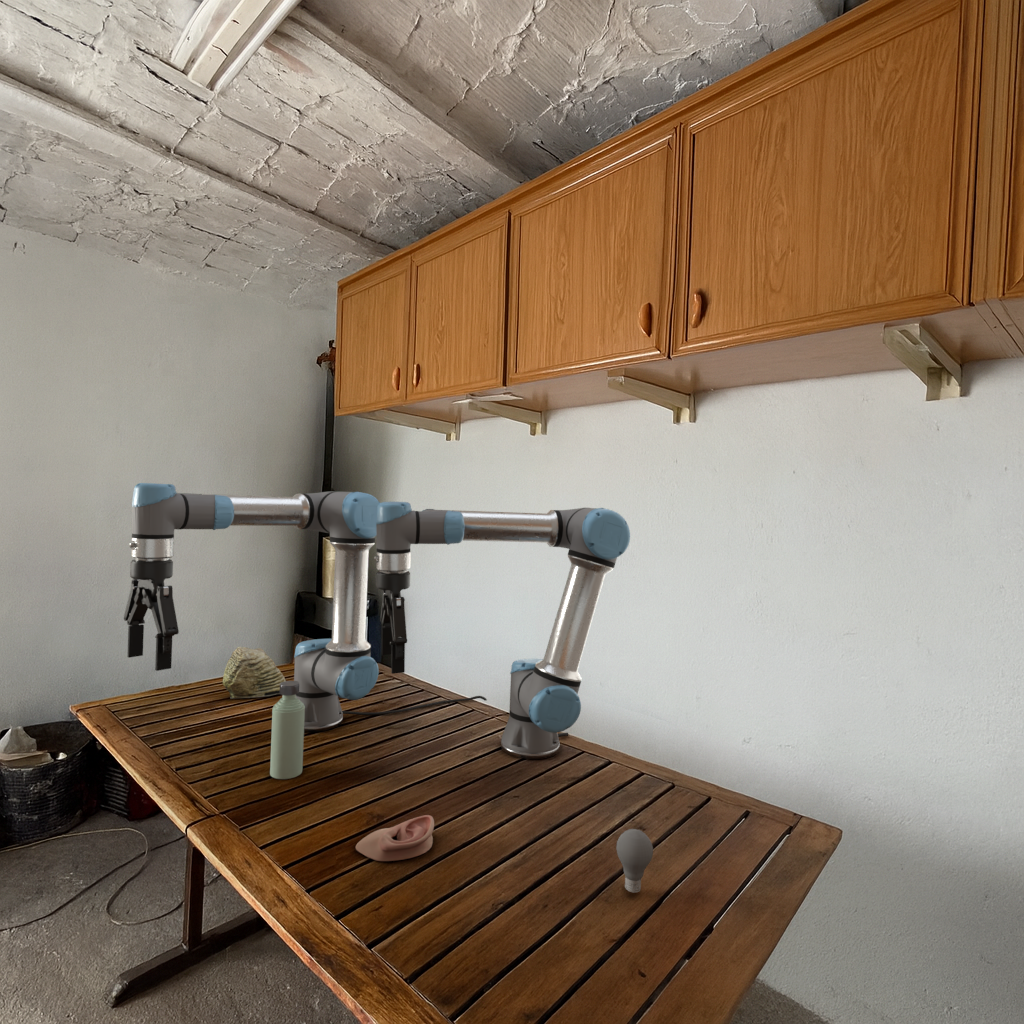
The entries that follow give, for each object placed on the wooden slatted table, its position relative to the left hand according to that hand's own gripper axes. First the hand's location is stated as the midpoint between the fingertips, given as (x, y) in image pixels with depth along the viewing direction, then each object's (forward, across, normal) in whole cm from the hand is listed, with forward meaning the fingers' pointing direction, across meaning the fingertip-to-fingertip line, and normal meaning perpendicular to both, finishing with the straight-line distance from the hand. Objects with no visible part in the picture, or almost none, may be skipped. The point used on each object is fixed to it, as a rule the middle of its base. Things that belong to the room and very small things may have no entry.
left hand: (148, 662), depth 129 cm
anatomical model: (+28, +51, +23) cm, 62 cm away
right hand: (+2, +28, +41) cm, 49 cm away
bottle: (+28, +9, +26) cm, 40 cm away
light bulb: (+28, +90, +41) cm, 103 cm away
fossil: (+28, -47, +50) cm, 74 cm away
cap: (+8, +9, +26) cm, 29 cm away
